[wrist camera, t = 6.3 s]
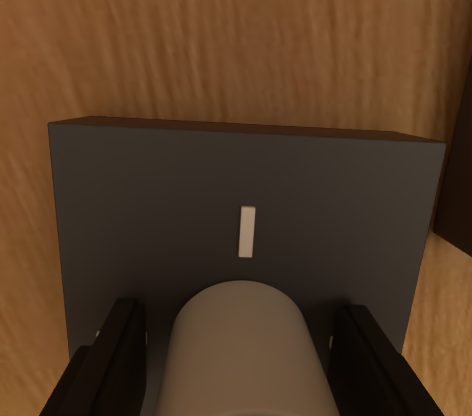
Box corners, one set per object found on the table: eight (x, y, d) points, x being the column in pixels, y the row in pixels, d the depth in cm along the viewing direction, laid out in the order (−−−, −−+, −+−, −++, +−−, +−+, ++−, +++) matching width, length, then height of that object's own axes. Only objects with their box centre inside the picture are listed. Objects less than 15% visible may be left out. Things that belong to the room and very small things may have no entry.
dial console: (89, 115, 12) (43, 122, 9) (395, 131, 12) (452, 143, 9) (107, 413, 15) (79, 492, 12) (345, 416, 16) (374, 493, 13)
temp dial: (170, 393, 11) (135, 598, 7) (171, 276, 10) (129, 425, 6) (299, 396, 11) (350, 596, 7) (314, 281, 10) (389, 429, 6)
